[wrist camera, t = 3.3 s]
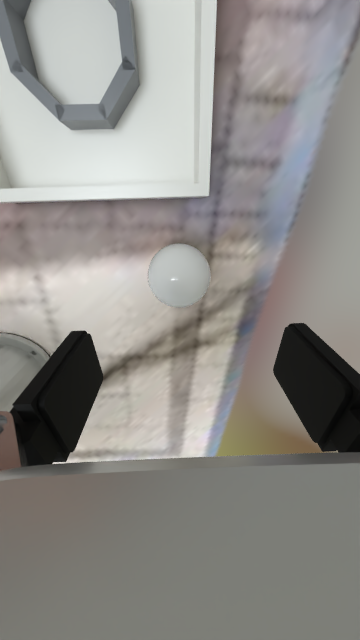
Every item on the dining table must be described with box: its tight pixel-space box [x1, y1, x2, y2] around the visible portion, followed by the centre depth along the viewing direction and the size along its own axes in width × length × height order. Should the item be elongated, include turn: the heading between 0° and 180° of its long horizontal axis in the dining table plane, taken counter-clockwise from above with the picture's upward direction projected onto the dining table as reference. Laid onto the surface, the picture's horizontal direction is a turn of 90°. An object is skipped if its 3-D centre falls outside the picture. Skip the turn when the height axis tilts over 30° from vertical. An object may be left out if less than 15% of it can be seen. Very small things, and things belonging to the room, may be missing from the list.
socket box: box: [0, 0, 217, 203], centre depth 15 cm, size 22×22×6 cm
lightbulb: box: [148, 243, 211, 308], centre depth 22 cm, size 6×6×11 cm
